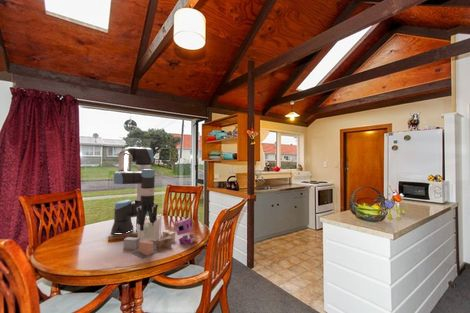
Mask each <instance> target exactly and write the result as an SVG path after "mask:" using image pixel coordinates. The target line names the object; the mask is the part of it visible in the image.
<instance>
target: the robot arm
mask: <svg viewBox="0 0 470 313" xmlns="http://www.w3.org/2000/svg"><path fill="white" fill-rule="evenodd" d="M117 161H118V167H117V168H118V169H117V171H115V172H114V173H113V184H114V185H136V184H137V190H136V198H134V201H132V199H124V200H123V199H122V200H120V201H119V200H118V201H116V202H115V204H114V209H113V210H114V213H113V217H114V218H113V225H112V227H111V230H110V233H111V234H112V233H126V232H128V231H131V230H133V231H134V225H133V222H132V218H134V217H136V225H138V224H139V225H140V230H141V236H145V225H144V222H145V217H146V218H147V217H148V218H149V220H150V222H149V225H152V226H153V223H154V222H155V221H156V220H157V215H158V206H159V205H158V204H156V203H155V182H156V181H155V180H156V178H155V176H156V174H155V173H156V170H155V169H153V168H151V167H152V165H153V164H152V163H155V157H154V151H153V148H152V147H151V148H150V147H135V146H131V147H127V148H124V149H123V150H121V151H120V152H119V153H118V156H117ZM132 163H135V165H136V167H137V171H132Z"/></svg>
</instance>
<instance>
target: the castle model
mask: <svg viewBox="0 0 470 313" xmlns="http://www.w3.org/2000/svg"><path fill="white" fill-rule="evenodd" d="M149 222H150V220H149V217H147V216H146V217H145V222H144V224H149ZM153 226H154V236H153V237H150V238H146V237H143V236H140V225H139V224H137V238H140V239H139V242H140V241H143V240H147V241H150V242H157V239H159V238H162V236H163V231H162V213H160V214H158V213H157V220H156V221H155V222H154V223H153Z"/></svg>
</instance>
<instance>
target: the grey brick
mask: <svg viewBox="0 0 470 313" xmlns="http://www.w3.org/2000/svg"><path fill="white" fill-rule="evenodd" d="M139 239H140V238H138V237H132V236H131V237H130V236H127V237H125V238H124V239H123V249H127V250H128V249H129V250H137V249H138V248H139Z"/></svg>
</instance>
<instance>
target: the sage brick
mask: <svg viewBox="0 0 470 313" xmlns="http://www.w3.org/2000/svg"><path fill="white" fill-rule="evenodd" d="M144 225H145V236H143V237H146V238H150V237H153V236H154V226H152V225H149V224H144ZM140 236H141V230H140Z"/></svg>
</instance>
